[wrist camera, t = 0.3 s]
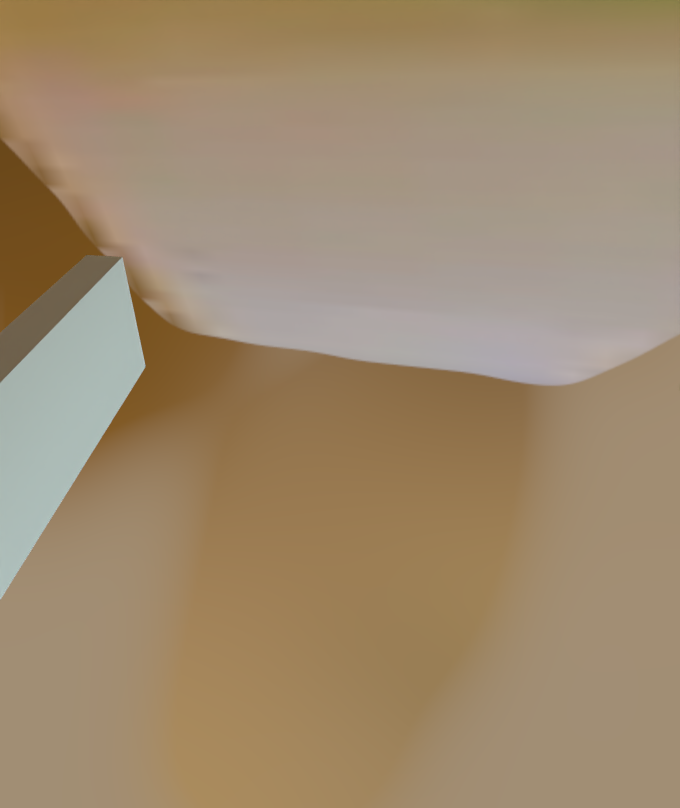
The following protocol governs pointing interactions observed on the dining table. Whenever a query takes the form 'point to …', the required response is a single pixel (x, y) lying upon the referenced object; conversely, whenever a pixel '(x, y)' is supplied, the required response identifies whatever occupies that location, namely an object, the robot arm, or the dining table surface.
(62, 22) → the dining table surface
